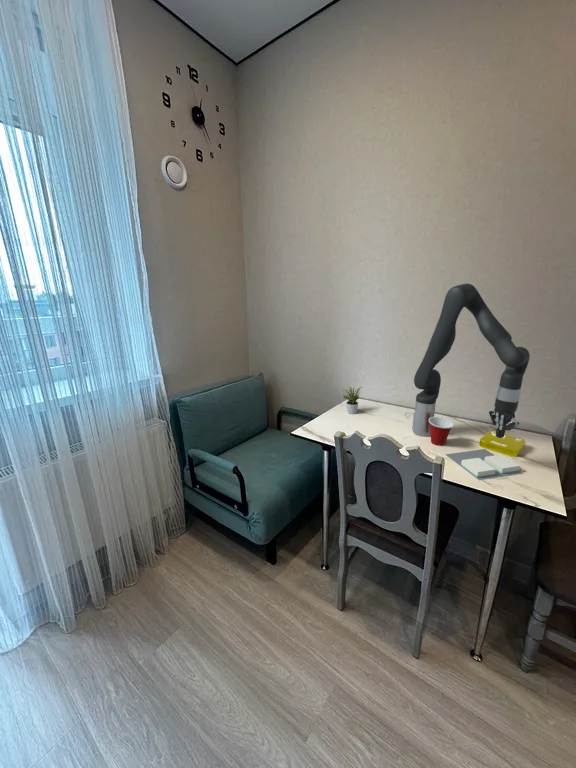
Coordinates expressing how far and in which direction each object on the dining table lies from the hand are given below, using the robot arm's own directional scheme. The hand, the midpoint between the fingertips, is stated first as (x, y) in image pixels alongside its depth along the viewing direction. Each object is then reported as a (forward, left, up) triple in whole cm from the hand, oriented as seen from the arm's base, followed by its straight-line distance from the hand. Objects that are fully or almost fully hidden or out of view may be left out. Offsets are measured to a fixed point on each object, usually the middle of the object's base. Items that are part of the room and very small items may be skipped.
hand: (499, 437), depth 131 cm
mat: (0, -6, -12) cm, 14 cm away
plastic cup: (-20, -12, -13) cm, 27 cm away
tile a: (-1, -11, -10) cm, 15 cm away
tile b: (-1, 0, -10) cm, 10 cm away
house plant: (-68, -36, -13) cm, 78 cm away
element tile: (-11, +14, -13) cm, 22 cm away
